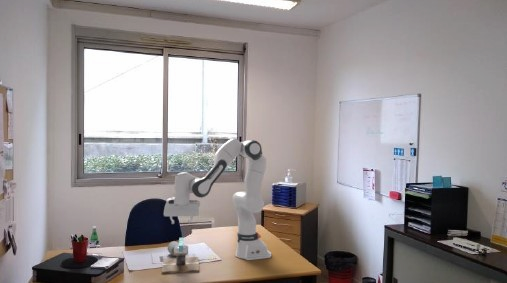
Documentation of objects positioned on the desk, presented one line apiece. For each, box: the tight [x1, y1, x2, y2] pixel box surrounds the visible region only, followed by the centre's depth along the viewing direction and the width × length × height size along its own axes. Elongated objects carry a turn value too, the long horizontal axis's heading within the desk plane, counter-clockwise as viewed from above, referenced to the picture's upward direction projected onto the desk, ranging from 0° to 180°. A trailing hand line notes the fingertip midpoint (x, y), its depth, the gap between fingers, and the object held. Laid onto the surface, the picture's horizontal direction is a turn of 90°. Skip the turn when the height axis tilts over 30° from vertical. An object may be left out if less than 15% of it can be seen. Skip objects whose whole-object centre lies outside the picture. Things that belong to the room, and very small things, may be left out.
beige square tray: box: [161, 255, 200, 275], centre depth 210 cm, size 20×20×7 cm
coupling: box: [174, 237, 189, 256], centre depth 209 cm, size 8×15×7 cm, turn 10°
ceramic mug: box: [167, 240, 179, 258], centre depth 228 cm, size 11×8×8 cm
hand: (181, 223), depth 215 cm, fingers open, 8 cm apart
